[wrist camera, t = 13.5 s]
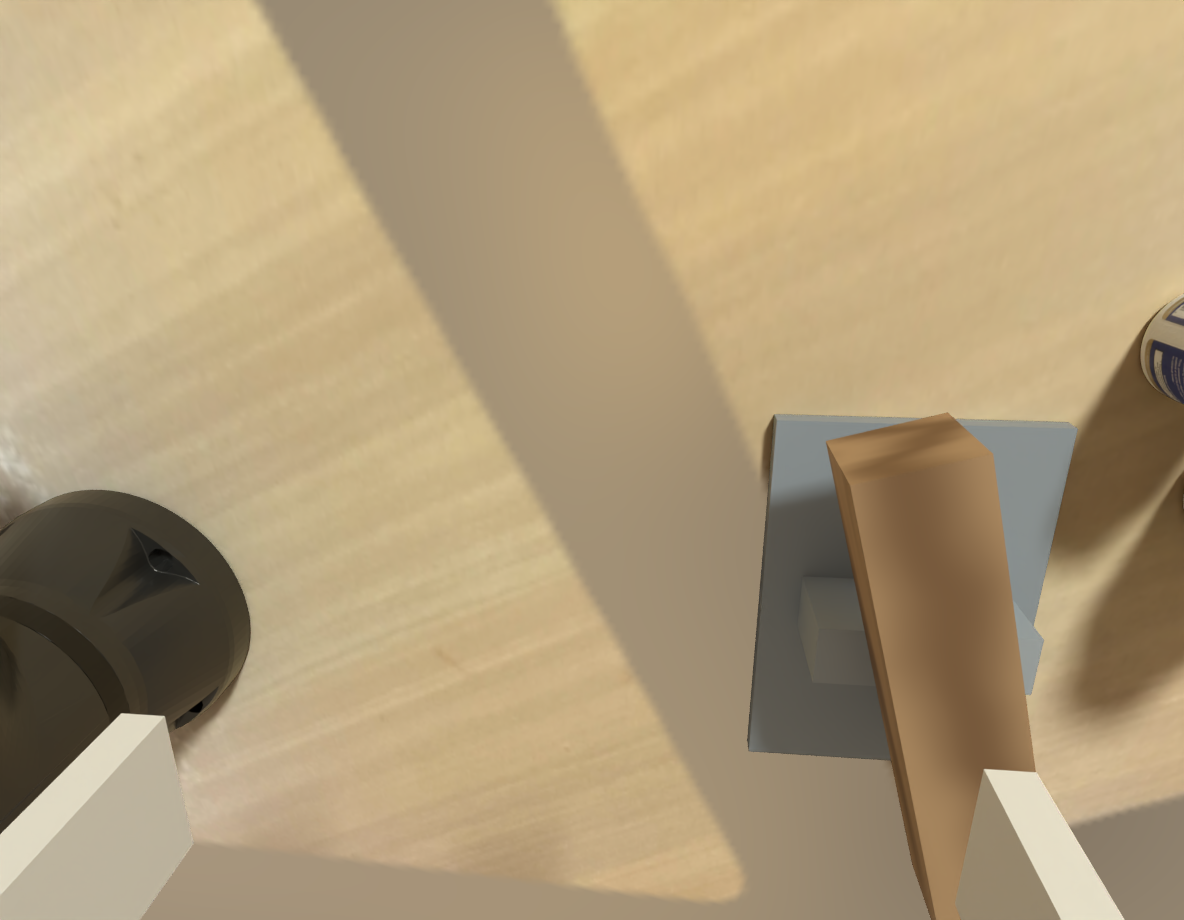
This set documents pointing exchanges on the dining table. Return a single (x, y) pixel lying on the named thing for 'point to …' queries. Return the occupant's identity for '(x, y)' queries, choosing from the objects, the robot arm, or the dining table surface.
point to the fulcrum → (827, 589)
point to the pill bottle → (1166, 350)
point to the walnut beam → (935, 628)
